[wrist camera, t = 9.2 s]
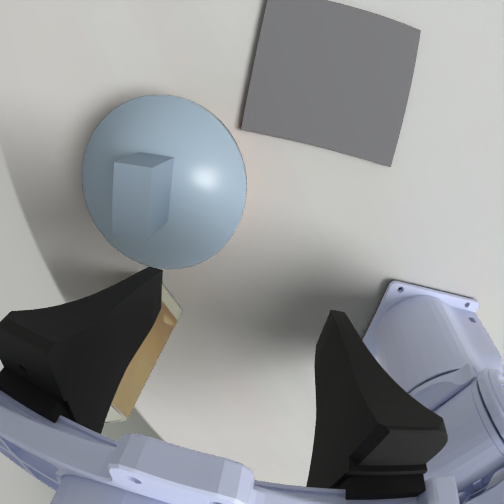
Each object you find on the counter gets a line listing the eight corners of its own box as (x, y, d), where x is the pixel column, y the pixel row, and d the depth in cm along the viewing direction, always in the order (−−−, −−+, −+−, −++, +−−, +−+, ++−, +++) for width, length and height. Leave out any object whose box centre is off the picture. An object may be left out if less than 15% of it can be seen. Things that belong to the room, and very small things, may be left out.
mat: (418, 31, 15) (420, 30, 14) (388, 166, 19) (390, 167, 19) (270, -9, 15) (269, -11, 15) (241, 129, 20) (240, 129, 19)
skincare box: (139, 331, 29) (79, 428, 18) (110, 297, 28) (37, 388, 17) (187, 310, 27) (129, 424, 16) (156, 270, 26) (77, 375, 15)
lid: (263, 108, 16) (254, 109, 13) (230, 281, 21) (218, 314, 18) (92, 91, 16) (56, 93, 13) (88, 244, 21) (60, 267, 18)
